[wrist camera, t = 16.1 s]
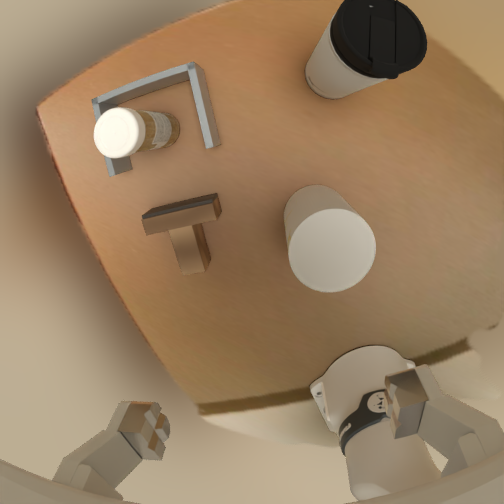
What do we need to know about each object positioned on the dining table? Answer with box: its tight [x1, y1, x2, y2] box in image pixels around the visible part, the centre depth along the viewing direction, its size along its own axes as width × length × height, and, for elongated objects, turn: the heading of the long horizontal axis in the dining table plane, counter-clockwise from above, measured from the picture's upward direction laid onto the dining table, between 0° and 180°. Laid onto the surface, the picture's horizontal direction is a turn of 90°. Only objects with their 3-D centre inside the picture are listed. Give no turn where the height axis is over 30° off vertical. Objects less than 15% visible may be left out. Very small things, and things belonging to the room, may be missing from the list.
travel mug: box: [305, 0, 427, 99], centre depth 23 cm, size 6×7×20 cm
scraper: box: [142, 193, 222, 275], centre depth 39 cm, size 8×9×4 cm
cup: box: [284, 185, 376, 292], centre depth 34 cm, size 8×8×12 cm
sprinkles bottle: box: [94, 107, 180, 158], centre depth 30 cm, size 5×5×14 cm
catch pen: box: [92, 62, 221, 177], centre depth 33 cm, size 10×13×5 cm
